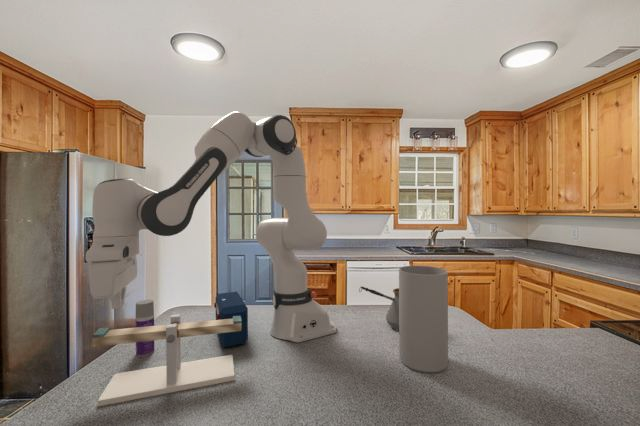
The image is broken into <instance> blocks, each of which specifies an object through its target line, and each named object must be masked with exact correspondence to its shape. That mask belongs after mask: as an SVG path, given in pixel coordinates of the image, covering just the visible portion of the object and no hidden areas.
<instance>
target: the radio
mask: <svg viewBox="0 0 640 426" xmlns="http://www.w3.org/2000/svg"><path fill="white" fill-rule="evenodd" d="M213 306H214V309H215V320H222V319H233V316H241V320H242V325H241V331H236V332H226V333H217V336H218V340H219V343H220V345H221V347H223V348H228V347H235V346H239V345H244V344H246V343H247V341H248V339H249V329H248V328H249V319H248V318H249V317H248V316H249V315H248V314H249V313H248V311H249V310H248V307H247V305H246V303H245V302H244V300H243V298H242V297H241V295H240V294H239V293H238V291H231V292H230V291H228V292H223V293H221V292H220V293H218V294H216V296H215V302H214V305H213Z"/></svg>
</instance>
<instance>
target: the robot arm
mask: <svg viewBox="0 0 640 426" xmlns="http://www.w3.org/2000/svg"><path fill="white" fill-rule="evenodd" d="M297 144H298V138H297V131H296V128H295V125H294V123H293V121H292V120H291V119H290V118H289V117H287V116H286V115H282V114H275V115H271V116H269V117H266V118H263V119H261V120H259V121H257V122H254V121H252V120H251V119H250V117H249V116H247V115H246V114H245V113H242V112H240V111H232V112H230V113H227V114H226V115H225V116H223V117H222V118H220V119H219V120H217V121H216V122H215V123H214V124H213V125H211V127H210V128H208V129H207V130H206V131H205V132H204V133H203V134H202V136H201V137H200V139H199V140H198V142H197V143H196V145H195V146H194V155H195V160H194V161H193V163H192V164H191V166H190V167H189V168H188V169H187V170H186V171H185V172H184V173H183V174H182V176H181V177H179V179H177V181H176V182H175V183H174V184H173V185H171V186H170V187H169V188H166V189H163V190H161V191H159V192H158V191H155V190H152V189H150V188H148V187H145V186H144V185H141V184H140V183H139V182H137V181H136V180H134V179H132V178H128V177H125V178H122V177H121V178H113V179H112V178H111V179H108V180H104V181H101V182H99V183H98V184H97V185H96V186H95V187H94V190H93V196H92V211H91V212H92V219H93V223H94V230H93V234H92V243H91V246H90V248H88V249H87V251H86V253H85V262H87V263H89V266H88V279H89V290H90V294H91V296H92V299H94V300H98V299H99V300H100V299H101V300H102V299H109V300H110V302H111V309H112V310H118V309H120V308H121V307H123V305H125V297H126V291H127V286H128V285H129V284H130V283H131V282H133V281H135V280H136V278H137V275H138V265H137V264H138V261H137V255H139V254H140V231H141V230H147V231H150V232H151V233H153V234H155V235H157V236H162V237H170V236H175V235H178V234H179V233H181V232H183V231H184V230H185V229H186V228H187V227H188V226H189V224H190V222H191V220H192V218H193V215H194V210H195V208H196V205H197V204H198V202H199V200H200V199H201V198H202V196H204V194H205V192H207V190H208V189H209V188H210V187H211V186H212V184H213V183H214V182H215V181H216V180H217V178H218V177H219V176H220V175H221V174H222V173H224V172H225V171H226V170H228V169H229V168H230V167H231V166H232V165H233V164H234V163H235V162H236V161H237V160H238V158H240V157H241V156H242V154H243V153H244V152H245V153H246V154H248V155H249V156H251V157H254V158H262V157H266V156H269V157H270V160H271V163H272V167H273V168H272V169H273V170H272V183H273V185H272V186H273V188H272V189H273V190H272V191H273V200H274V201H275V203H276V204H277V205H279V207H282V208H283V209H284V210H285V212H286V215H287V217H271V218H268V219H264V220H260V222H259V223H258V225H257V227H256V231H255V233H256V234H255V237H256V240H257V242H258V244H259V245H260V246H262V248H263V249H264V250H265V251H266V252H267V254H268V256H269V258H270V260H271V262H272V266H273V274H274V275H273V276H274V290H273V296H272V297H273V298H272V299H273V302H272V303H273V308H274V311H273V320H272V325H271V328H270V331H269V332H270V335H271V336H272V337H274V338H276V339H279V340H286V341H290V342H294V343H302V342H305V341H309V340H313V339H317V338H321V337H324V336H328V335H329V336H330V335H332V334H335V333H336V332H337V326H336V324H335V323H334V322H333V321H332V320H331V319H330V316H329V313H328V311H327V309H326V308H325V307H324V306H323V305H322V304H320V303H318V302H317V301H316V300H314V299H317V297H318V294H317V293H316V292H315V291H313V290H311V289H309V288H308V268H307V266H306V264H305V263H304V262H302V261H301V260H300V259H298V258H297V256H296V255H295V252H294V251H312V250H319V249H321V248H322V247H323V246H324V245H325V243H326V242H327V236H328V233H327V232H328V231H327V228H326V226H325V224H324V222H323V221H322V220H321V219H319V218H318V217H317V216H316V215H315V214H314V212H313V210H312V209H311V206H310V205H309V201H308V195H307V183H306V182H307V181H306V165H305V159H304V154H303V151H302V149H301V148H300V147H299V146H298V145H297Z"/></svg>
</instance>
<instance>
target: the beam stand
mask: <svg viewBox="0 0 640 426" xmlns="http://www.w3.org/2000/svg"><path fill="white" fill-rule="evenodd" d="M173 322H178V323H181V313H175V314H171V316H170V323H168V324H166V325H167V327H166V339H165V344H166V345H165V346H166V347H165V349H166V351H165V353H166V354H165V355H166V356H165V357H166V358H165V359H166V361H165V363H166V365H159V366H155V367H148V368H147V367H146V368H142V369H135V370H129V371H122V372H117V373H114V375H113V376H112V378H111V379H110V381H109V382H108V384H107V385H106V387H105V389H104V390H103V392H102V393H101V395H100V397H99V398H98V400H97V407H102V406H107V405H108V406H109V405H112V404H117V403H124V402H128V401H134V400H138V399H143V398H148V397H149V398H150V397H155V396H158V395H164V394H165V395H166V394H169V393H175V392H180V391H186V390H190V389H191V390H192V389H195V388H201V387H202V388H203V387H206V386H212V385H216V384H221V383H227V382H228V383H229V382H233V381H235V379H236V378H235V368H234V367H235V366H234V357H233V354H228V355H222V356H215V357H209V358H204V359H197V360H191V361H185V362H182V349H181V348H182V343H181V340H182V339H181V338H182V337H180V338H177V324H171V323H173Z"/></svg>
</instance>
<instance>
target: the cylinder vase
mask: <svg viewBox="0 0 640 426" xmlns="http://www.w3.org/2000/svg"><path fill="white" fill-rule="evenodd" d="M448 272H449V271H448V270H446V269H445V268H442V267H441V268H440V267H438V266H428V265H404V266H400V267H399V268H398V288H399V330H398V333H399V338H398V341H399V342H398V343H399V344H398V345H399V347H398V350H399V351H398V352H399V354H398V355H399V359H400V361H401V363H403V364H404V365H405V366H406V367H408V368H410V369H412V370H413V371H417V372H421V373H427V374H432V373H439V372H442V371H444V370H445V369H447V368H448V366H449V278H448V277H449V273H448Z"/></svg>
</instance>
